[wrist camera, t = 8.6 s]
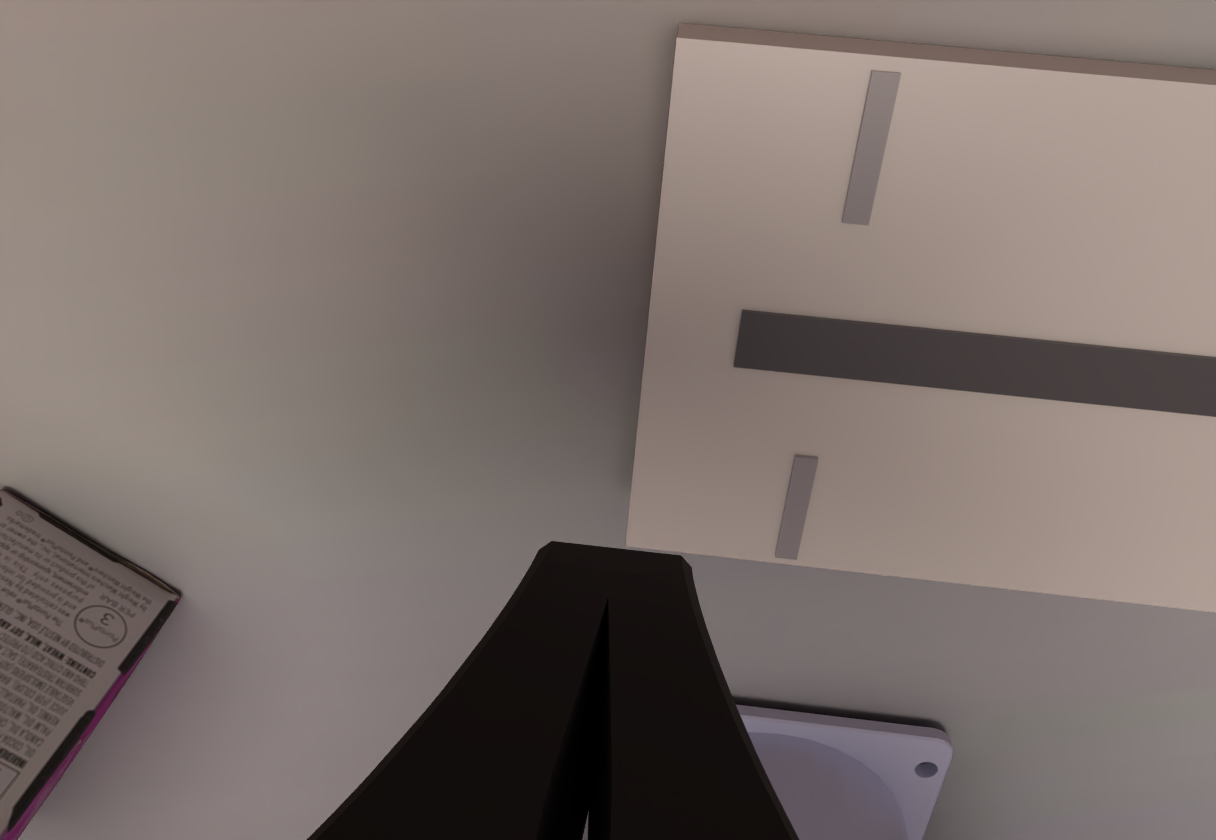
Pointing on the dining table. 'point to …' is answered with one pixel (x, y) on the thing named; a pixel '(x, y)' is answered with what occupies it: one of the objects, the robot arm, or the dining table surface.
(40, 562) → the candy bar box
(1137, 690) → the dining table surface
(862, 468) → the console
